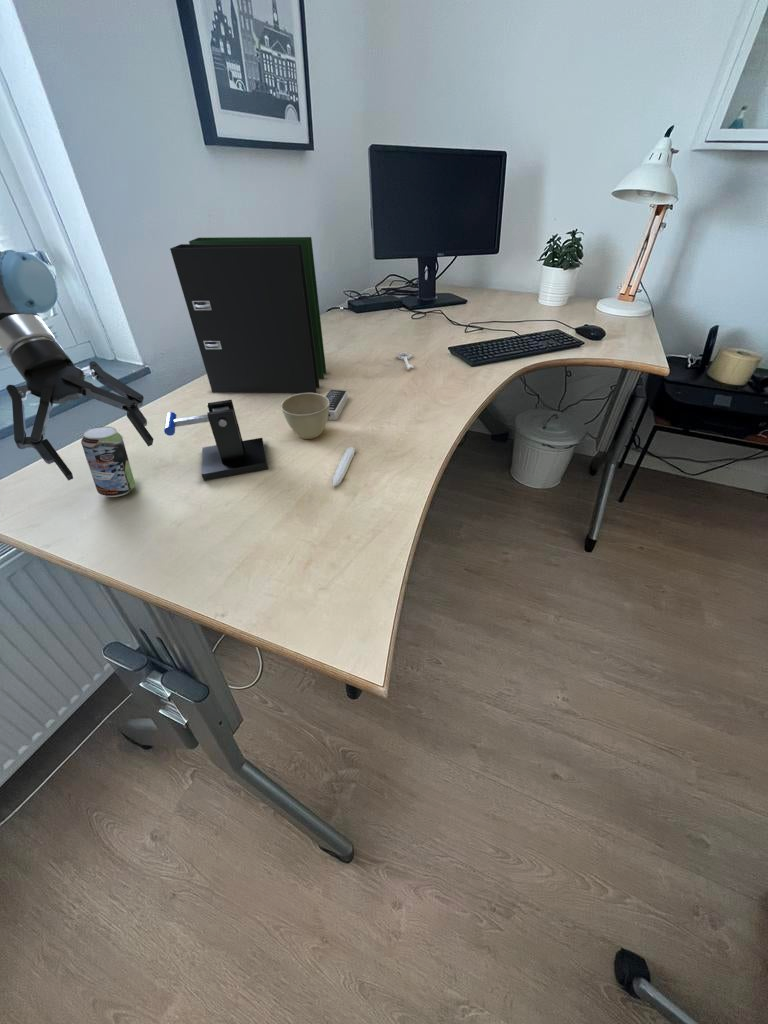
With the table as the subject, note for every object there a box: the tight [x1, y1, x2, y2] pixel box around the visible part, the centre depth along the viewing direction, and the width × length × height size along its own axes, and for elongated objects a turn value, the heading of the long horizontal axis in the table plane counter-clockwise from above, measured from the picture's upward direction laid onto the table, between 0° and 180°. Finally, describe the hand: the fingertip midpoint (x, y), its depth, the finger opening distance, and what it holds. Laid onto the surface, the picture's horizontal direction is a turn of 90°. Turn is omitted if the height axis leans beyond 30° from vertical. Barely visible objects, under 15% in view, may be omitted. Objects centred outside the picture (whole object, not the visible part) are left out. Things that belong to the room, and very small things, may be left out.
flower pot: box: [280, 392, 330, 440], centre depth 92 cm, size 10×10×7 cm
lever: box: [163, 406, 229, 437], centre depth 79 cm, size 11×6×2 cm, turn 107°
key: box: [396, 351, 414, 371], centre depth 124 cm, size 12×1×4 cm
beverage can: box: [81, 426, 136, 498], centre depth 76 cm, size 6×7×12 cm
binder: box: [169, 236, 327, 394], centre depth 105 cm, size 27×15×32 cm, turn 84°
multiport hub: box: [325, 389, 349, 421], centre depth 102 cm, size 4×11×2 cm, turn 169°
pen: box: [332, 446, 356, 487], centre depth 83 cm, size 2×14×2 cm, turn 169°
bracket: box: [201, 399, 269, 482], centre depth 83 cm, size 12×10×12 cm
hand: (112, 459), depth 74 cm, fingers open, 13 cm apart
